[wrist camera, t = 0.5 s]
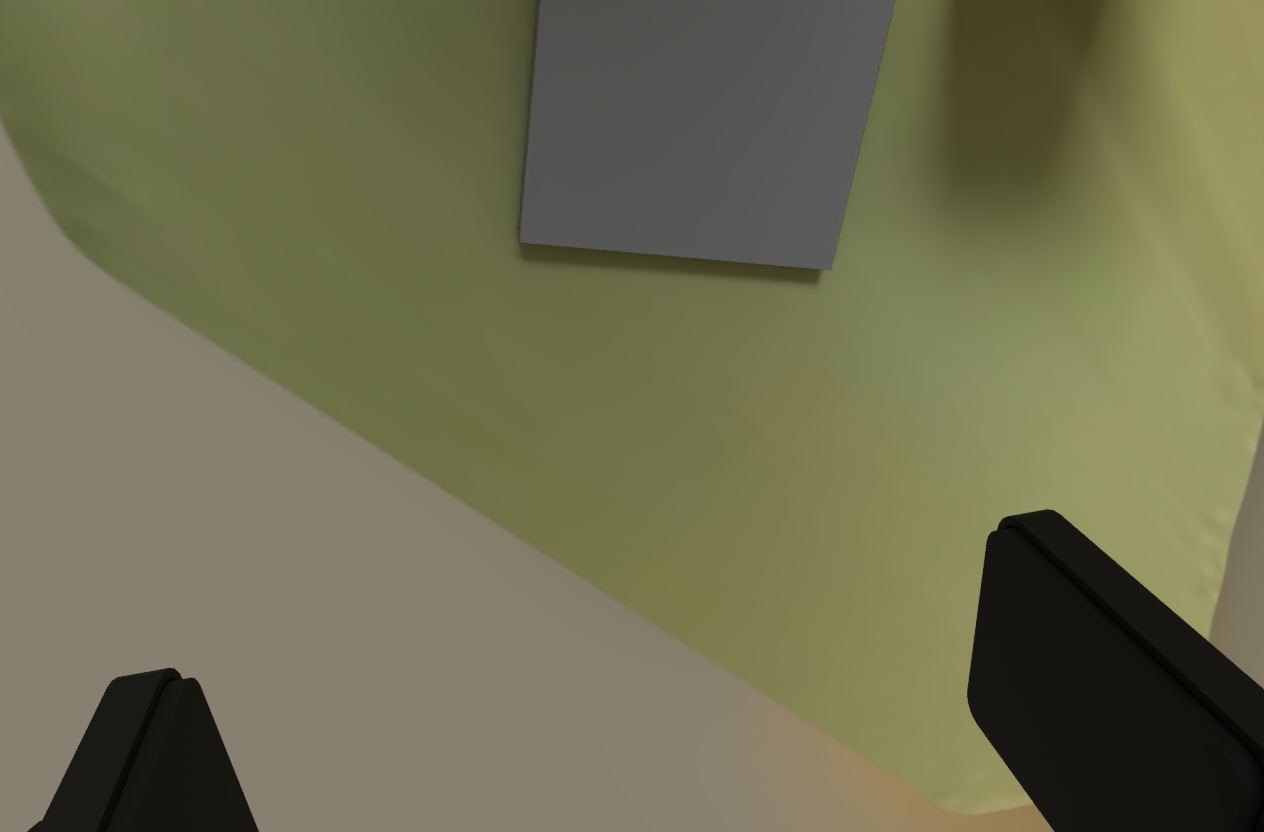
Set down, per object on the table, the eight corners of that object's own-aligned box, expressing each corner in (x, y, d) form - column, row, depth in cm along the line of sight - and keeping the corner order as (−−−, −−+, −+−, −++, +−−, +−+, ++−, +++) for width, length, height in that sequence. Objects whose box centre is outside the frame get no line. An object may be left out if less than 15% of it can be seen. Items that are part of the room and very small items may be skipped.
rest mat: (550, -149, 31) (553, -153, 30) (902, -81, 34) (914, -83, 34) (518, 236, 37) (519, 242, 36) (822, 264, 40) (830, 270, 39)
